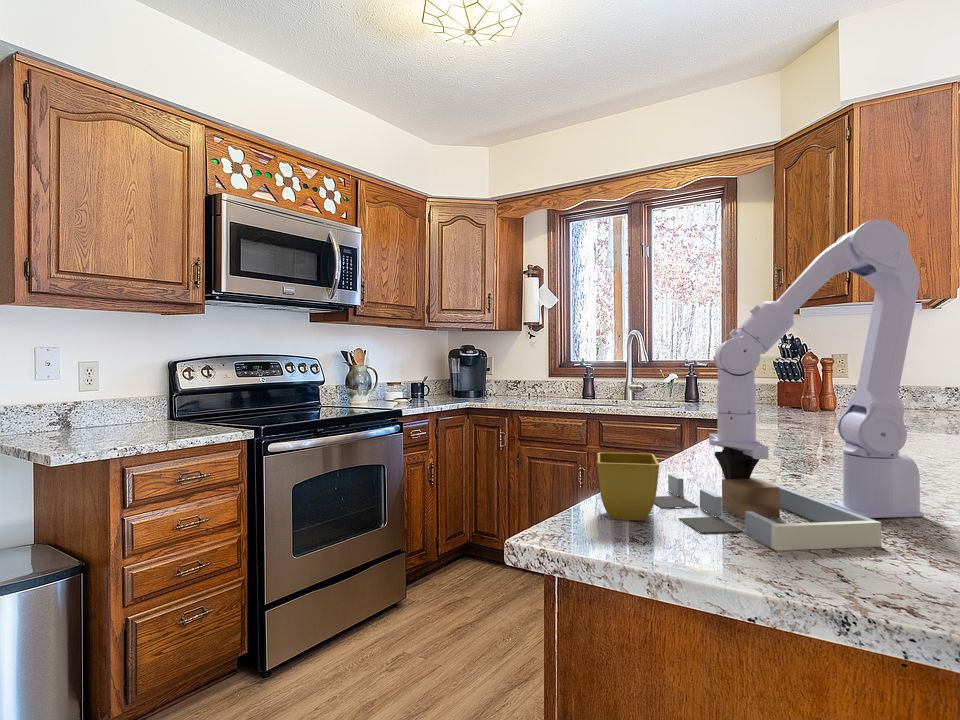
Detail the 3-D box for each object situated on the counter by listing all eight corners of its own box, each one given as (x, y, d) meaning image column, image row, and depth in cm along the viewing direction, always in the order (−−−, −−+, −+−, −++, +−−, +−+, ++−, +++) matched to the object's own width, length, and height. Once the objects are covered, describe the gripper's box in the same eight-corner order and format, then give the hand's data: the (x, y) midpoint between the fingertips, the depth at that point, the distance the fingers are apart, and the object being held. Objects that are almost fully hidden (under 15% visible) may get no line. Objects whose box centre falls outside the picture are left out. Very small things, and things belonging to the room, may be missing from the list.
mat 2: (717, 518, 85) (717, 516, 85) (743, 532, 78) (743, 530, 78) (678, 519, 84) (678, 518, 84) (701, 533, 78) (701, 532, 78)
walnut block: (759, 506, 91) (758, 478, 91) (779, 517, 85) (779, 487, 85) (722, 507, 91) (721, 479, 91) (740, 517, 85) (739, 487, 85)
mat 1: (679, 496, 98) (679, 495, 98) (698, 507, 91) (698, 506, 91) (645, 497, 97) (645, 496, 97) (662, 508, 90) (662, 507, 90)
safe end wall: (875, 543, 73) (875, 520, 73) (881, 546, 72) (881, 522, 72) (771, 548, 72) (771, 524, 72) (776, 550, 71) (776, 526, 71)
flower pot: (660, 526, 81) (659, 463, 81) (597, 523, 83) (597, 461, 83) (654, 510, 90) (653, 453, 90) (597, 507, 92) (597, 452, 92)
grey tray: (742, 488, 104) (742, 472, 104) (875, 543, 73) (875, 520, 73) (668, 490, 102) (668, 474, 102) (771, 548, 72) (771, 524, 72)
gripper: (692, 409, 99) (692, 486, 99) (736, 417, 85) (737, 508, 85) (730, 408, 100) (731, 485, 100) (781, 416, 86) (782, 506, 86)
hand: (736, 496), depth 93 cm, fingers closed
